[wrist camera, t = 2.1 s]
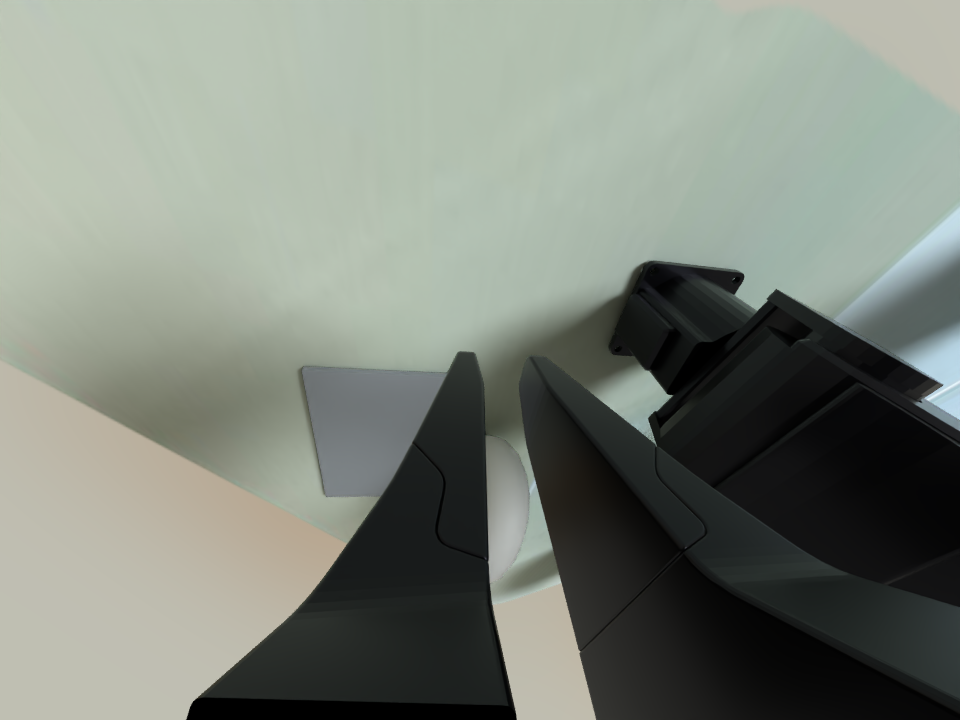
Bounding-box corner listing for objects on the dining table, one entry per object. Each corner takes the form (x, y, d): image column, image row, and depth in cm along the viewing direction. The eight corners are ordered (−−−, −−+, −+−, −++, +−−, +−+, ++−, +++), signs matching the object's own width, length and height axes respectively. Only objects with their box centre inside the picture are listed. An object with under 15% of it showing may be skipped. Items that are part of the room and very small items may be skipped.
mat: (459, 373, 24) (460, 377, 24) (442, 491, 32) (442, 495, 32) (303, 366, 22) (301, 370, 22) (327, 492, 31) (325, 496, 30)
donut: (464, 486, 32) (475, 614, 24) (429, 479, 31) (428, 611, 23) (521, 414, 27) (558, 546, 19) (482, 403, 26) (504, 538, 18)
